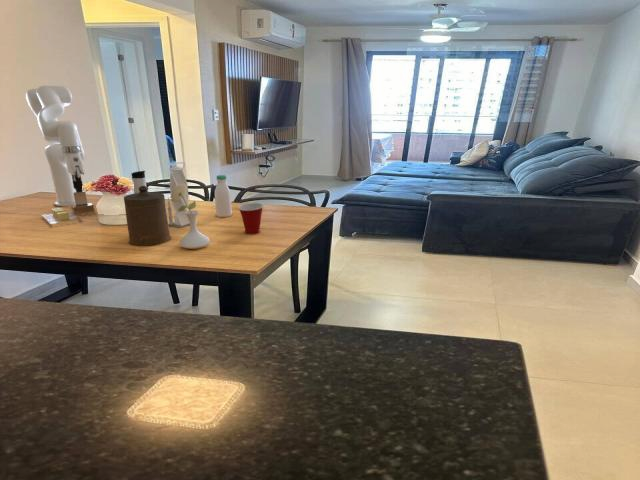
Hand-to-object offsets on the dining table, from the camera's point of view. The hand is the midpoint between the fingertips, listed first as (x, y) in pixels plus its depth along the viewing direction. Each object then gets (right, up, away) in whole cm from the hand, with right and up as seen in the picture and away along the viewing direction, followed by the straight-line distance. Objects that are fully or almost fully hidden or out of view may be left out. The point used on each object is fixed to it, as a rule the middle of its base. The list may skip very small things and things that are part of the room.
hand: (78, 188), depth 183 cm
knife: (0, -9, +3) cm, 10 cm away
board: (-5, -15, -4) cm, 17 cm away
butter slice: (-2, -15, -8) cm, 17 cm away
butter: (-7, -13, -3) cm, 15 cm away
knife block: (0, -12, +4) cm, 13 cm away
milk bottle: (+68, -12, +8) cm, 70 cm away
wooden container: (+47, -25, -29) cm, 61 cm away
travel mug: (+23, -9, +17) cm, 30 cm away
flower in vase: (+67, -28, -36) cm, 81 cm away
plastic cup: (+87, -21, -17) cm, 91 cm away
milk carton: (+53, -18, -8) cm, 56 cm away
